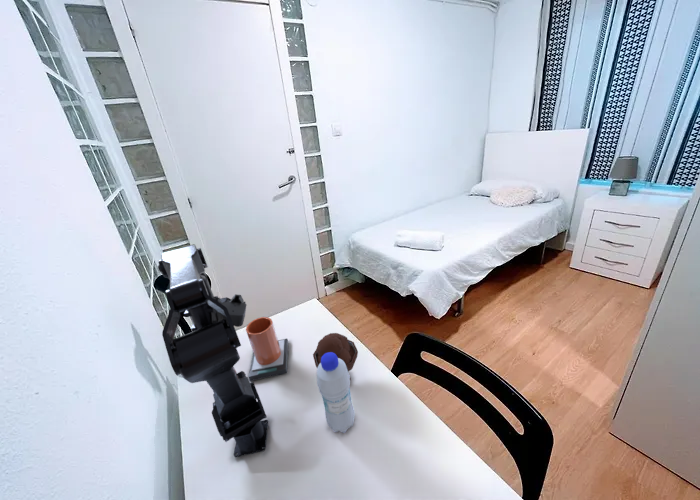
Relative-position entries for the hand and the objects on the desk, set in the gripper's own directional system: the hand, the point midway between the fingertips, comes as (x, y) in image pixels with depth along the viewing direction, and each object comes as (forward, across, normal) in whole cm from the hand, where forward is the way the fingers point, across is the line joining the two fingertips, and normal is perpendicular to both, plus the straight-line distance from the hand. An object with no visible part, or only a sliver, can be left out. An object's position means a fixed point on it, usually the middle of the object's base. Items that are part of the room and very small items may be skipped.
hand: (221, 353), depth 67 cm
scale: (+13, +8, -8) cm, 17 cm away
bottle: (+13, -15, -26) cm, 33 cm away
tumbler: (+11, +8, -8) cm, 16 cm away
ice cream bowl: (+13, -4, -27) cm, 30 cm away
